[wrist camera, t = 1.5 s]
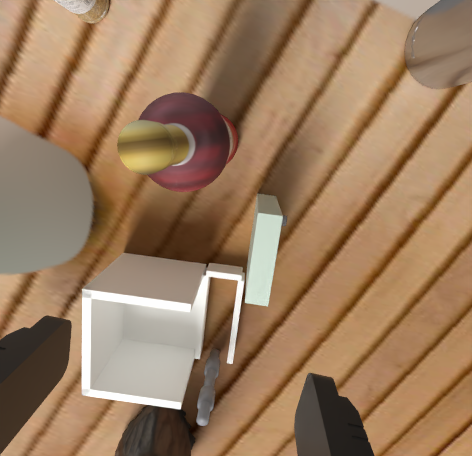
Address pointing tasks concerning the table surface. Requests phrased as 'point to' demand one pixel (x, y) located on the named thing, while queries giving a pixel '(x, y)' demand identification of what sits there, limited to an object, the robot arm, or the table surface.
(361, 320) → the table surface
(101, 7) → the sprinkles bottle
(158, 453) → the owl
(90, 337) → the cabinet
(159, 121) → the liquor
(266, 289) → the door
